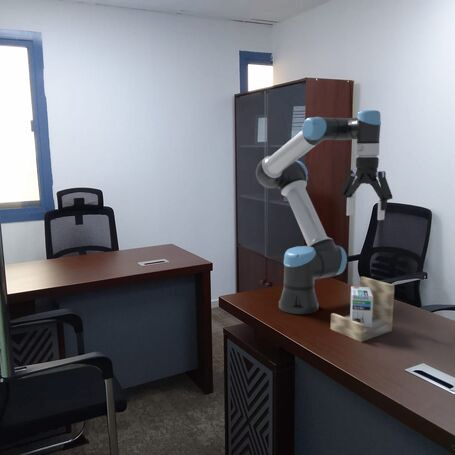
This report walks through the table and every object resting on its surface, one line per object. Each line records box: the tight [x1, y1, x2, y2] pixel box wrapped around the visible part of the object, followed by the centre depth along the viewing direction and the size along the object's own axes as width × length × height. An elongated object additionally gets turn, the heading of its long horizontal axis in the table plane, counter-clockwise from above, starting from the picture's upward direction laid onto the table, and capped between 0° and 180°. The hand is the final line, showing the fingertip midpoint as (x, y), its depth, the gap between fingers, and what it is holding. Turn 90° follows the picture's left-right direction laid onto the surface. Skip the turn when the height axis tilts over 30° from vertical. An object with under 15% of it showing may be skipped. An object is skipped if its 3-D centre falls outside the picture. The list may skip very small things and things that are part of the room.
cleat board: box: [330, 276, 395, 343], centre depth 154 cm, size 13×16×16 cm
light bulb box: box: [349, 285, 373, 327], centre depth 155 cm, size 11×7×11 cm, turn 168°
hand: (364, 217), depth 162 cm, fingers open, 13 cm apart
